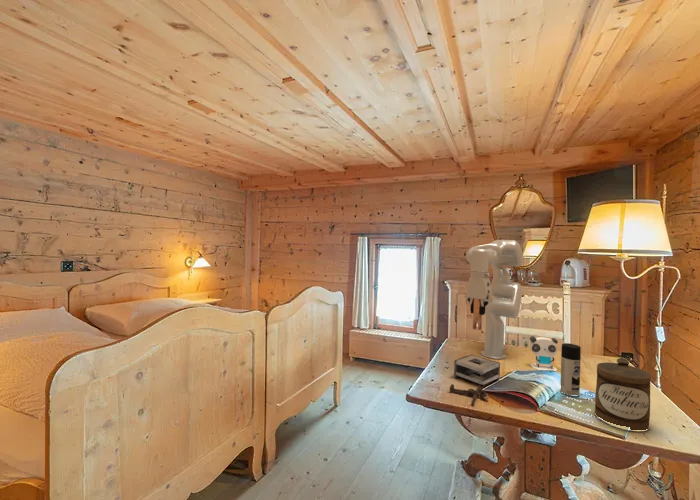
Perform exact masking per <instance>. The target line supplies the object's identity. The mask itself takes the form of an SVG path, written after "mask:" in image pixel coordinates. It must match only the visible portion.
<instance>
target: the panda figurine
mask: <svg viewBox="0 0 700 500" xmlns="http://www.w3.org/2000/svg"><path fill="white" fill-rule="evenodd" d="M529 341H530V342H531V343H530V344H529V345H530V350H531V352H532V353H533V354H534V356H535V362H533V363H530V367H531V368H532V369H534V370H537V371H540V370H554V371H556V372H557V370H558V369H557V368H556V367H555V366H554V365H553V363H554V362H555V356H556V354H557V353H558V348H557V345H556V344H558V343H559V342H558V340H557V339H556V338H555V337H552V338H551V339H550V338H548V337H536V336H534V335H532V336H530V337H529Z"/></svg>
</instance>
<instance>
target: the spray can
mask: <svg viewBox="0 0 700 500" xmlns="http://www.w3.org/2000/svg"><path fill="white" fill-rule="evenodd" d="M581 348H582V347H581V346H580V345H578V344H575V343H568V342H567V343H566V342H565V343H562V344H561V351H560V352H561V354H560V355H561V357H560V385H561V391H560V393H561V392H563V393H565V394H568V395H579V396H580V393H581V392H580V391H581V389H580V388H581V387H580V385H581V359H582V357H581V353H582V351H581V350H582V349H581ZM563 393H562V394H563ZM565 394H564V395H565Z"/></svg>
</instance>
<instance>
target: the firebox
mask: <svg viewBox="0 0 700 500" xmlns="http://www.w3.org/2000/svg"><path fill="white" fill-rule="evenodd" d="M453 371H454V372H453V378H454V379H458V378H462V379H466V380H468V381H471V382H473V383H475V384H476V383H477V384H479V385H482V386H485V385H486V384H489V383H490V382H493V381H496V380H499V379H501V378H500V377H501V376H500V375H501V374H500V372H501V362H500V361H495V360H492V359H490V358H489V359H488V358H487V357H482V356H478V355H475V354H468V355H466V356H463V357H459V358H457V359H454V366H453ZM499 381H500V380H499Z"/></svg>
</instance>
